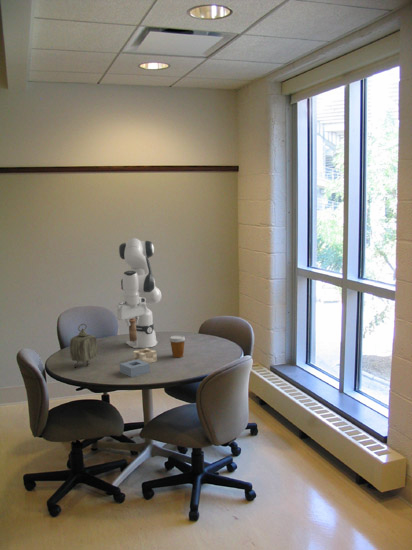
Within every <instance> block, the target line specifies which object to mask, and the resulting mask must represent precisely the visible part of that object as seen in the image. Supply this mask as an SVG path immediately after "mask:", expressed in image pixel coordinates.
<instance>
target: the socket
mask: <svg viewBox="0 0 412 550" xmlns="http://www.w3.org/2000/svg"><path fill="white" fill-rule="evenodd" d="M150 364H151V363H146V362H144V361H141V360H138V359H137V360H133V359H132V360H129V361H126V362H121V363H119V373H121V374H123V373H124V374H123V375H125V374H126V375H125V376H127V375H128V377H130V378H133V377H134V378H135V377H138V376H141V375H145V374H148V373H150V372H151V370H150V369H151V366H150Z"/></svg>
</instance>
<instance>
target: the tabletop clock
mask: <svg viewBox="0 0 412 550" xmlns="http://www.w3.org/2000/svg"><path fill="white" fill-rule="evenodd" d="M81 326H85V327H84V328H81ZM80 328H81V329H80ZM86 329H87V324H86V323H81V324H80V325H79V326H78V329H77V330H78V331H79V333H78V334H77V335H76V336H73V337H71V338H70V340H69V341H70V342H69V353H70V359H71V360H72V361H74V362H76V364H74V365H73V367H74V368H75V367H76V368H77V367H78V364H79V363H80V362H82V363H85V362H86V366H87V367H89V366H90V363H89V362H90V361H91V360H92V359H94V358H96V357H97V356H98V341H97V338H96V337H95V335H93V334H88V333H87V332H86ZM88 365H89V366H88Z"/></svg>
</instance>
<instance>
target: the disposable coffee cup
mask: <svg viewBox="0 0 412 550" xmlns="http://www.w3.org/2000/svg"><path fill="white" fill-rule="evenodd" d="M185 340H186V337H185V336H184V335H179V334H177V335H176V334H175V335H172V336H170V338H169V342H170V345H171V346H170V347H171V352H172V357H173V358H175V359H176V358H177V359H178V358H179V359H180V358H183V357H184V351H185Z"/></svg>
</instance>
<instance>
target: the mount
mask: <svg viewBox="0 0 412 550" xmlns="http://www.w3.org/2000/svg"><path fill="white" fill-rule="evenodd" d="M132 357H133V359H132V361H133V360H137V359H138V360H141V361H144V362H146V363H149V364H151V363H155V362H157V361H158V360H157V359H158V358H157V357H158V355H157V351H156V350H155V349H151V348H149V347H147V348H141V349H137V350H134V351H132Z"/></svg>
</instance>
